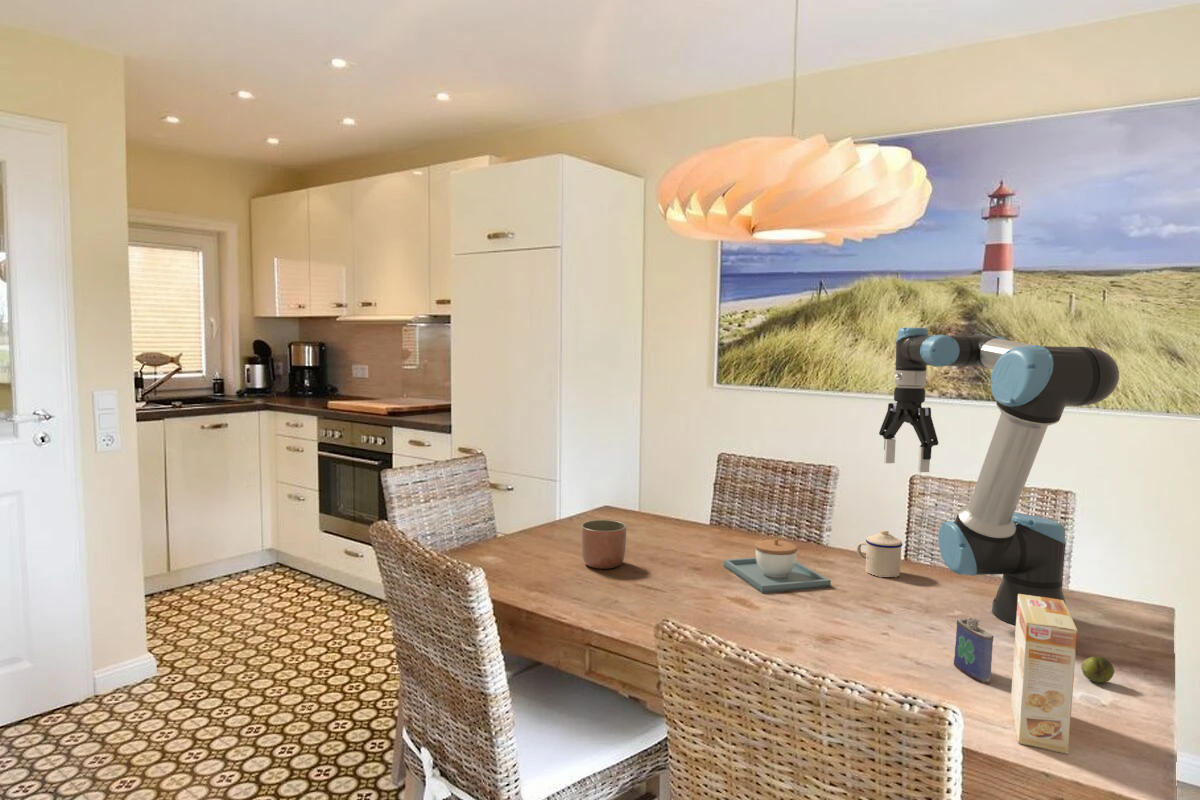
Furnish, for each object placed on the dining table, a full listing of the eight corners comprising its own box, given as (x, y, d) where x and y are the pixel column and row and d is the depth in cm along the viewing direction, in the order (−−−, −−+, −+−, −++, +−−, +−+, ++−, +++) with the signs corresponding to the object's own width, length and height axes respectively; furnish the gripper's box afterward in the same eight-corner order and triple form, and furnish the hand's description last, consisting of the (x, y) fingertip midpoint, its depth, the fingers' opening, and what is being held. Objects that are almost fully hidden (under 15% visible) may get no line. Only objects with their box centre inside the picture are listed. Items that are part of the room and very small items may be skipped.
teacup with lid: (906, 573, 200) (909, 531, 199) (891, 581, 193) (893, 536, 192) (864, 563, 208) (866, 522, 207) (848, 570, 202) (850, 527, 201)
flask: (993, 684, 136) (997, 626, 135) (979, 684, 136) (982, 627, 135) (962, 662, 145) (965, 608, 144) (948, 663, 145) (951, 609, 144)
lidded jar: (780, 566, 203) (781, 532, 202) (804, 578, 193) (806, 542, 192) (746, 570, 199) (747, 535, 198) (769, 582, 189) (770, 546, 188)
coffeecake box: (1070, 755, 113) (1079, 630, 111) (1016, 744, 116) (1024, 622, 114) (1057, 711, 127) (1064, 598, 125) (1009, 702, 130) (1016, 592, 128)
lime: (1076, 678, 139) (1078, 652, 139) (1097, 676, 140) (1099, 650, 140) (1097, 689, 135) (1099, 662, 134) (1119, 687, 136) (1121, 660, 135)
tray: (830, 587, 188) (830, 580, 188) (762, 593, 183) (762, 586, 183) (785, 561, 209) (786, 555, 209) (723, 566, 204) (723, 559, 204)
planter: (612, 574, 196) (612, 533, 195) (571, 566, 202) (572, 527, 201) (633, 562, 206) (634, 523, 205) (595, 555, 212) (595, 517, 212)
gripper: (868, 383, 206) (864, 460, 208) (931, 390, 182) (926, 476, 184) (891, 383, 208) (887, 459, 210) (956, 390, 184) (952, 475, 186)
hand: (905, 467), depth 197 cm, fingers open, 13 cm apart
